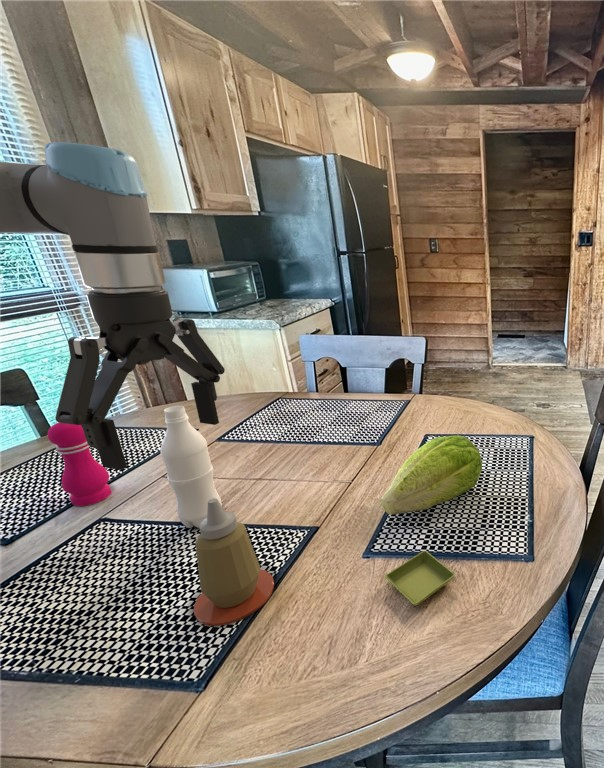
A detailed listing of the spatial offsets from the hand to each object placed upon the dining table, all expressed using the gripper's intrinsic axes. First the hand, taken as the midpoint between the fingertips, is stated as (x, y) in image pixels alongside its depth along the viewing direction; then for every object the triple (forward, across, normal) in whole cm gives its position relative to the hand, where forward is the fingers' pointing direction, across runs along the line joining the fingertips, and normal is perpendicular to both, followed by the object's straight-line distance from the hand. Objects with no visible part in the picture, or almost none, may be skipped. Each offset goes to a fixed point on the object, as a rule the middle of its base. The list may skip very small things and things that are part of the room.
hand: (167, 442), depth 58 cm
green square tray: (+28, -10, +32) cm, 44 cm away
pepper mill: (+29, -17, -47) cm, 58 cm away
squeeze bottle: (+28, -1, +4) cm, 28 cm away
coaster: (+28, -1, +4) cm, 29 cm away
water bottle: (+29, -16, -17) cm, 37 cm away
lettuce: (+28, -34, +26) cm, 51 cm away
